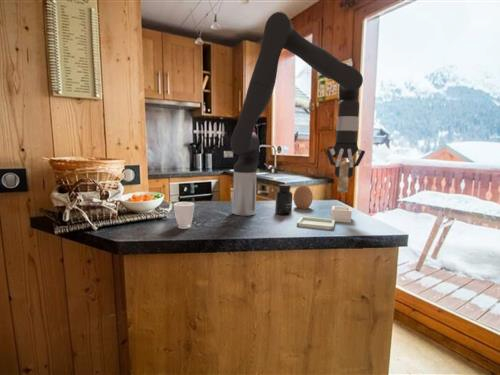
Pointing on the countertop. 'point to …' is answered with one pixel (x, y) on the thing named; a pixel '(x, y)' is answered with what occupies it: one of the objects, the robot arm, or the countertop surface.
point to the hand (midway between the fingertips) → (343, 177)
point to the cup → (184, 214)
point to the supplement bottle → (283, 200)
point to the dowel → (343, 176)
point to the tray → (316, 223)
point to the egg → (303, 197)
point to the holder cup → (341, 214)
